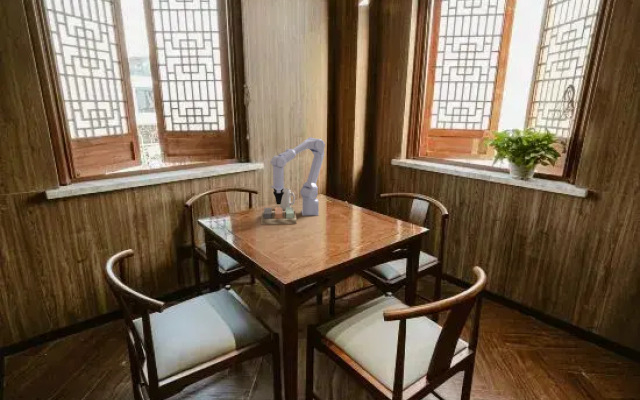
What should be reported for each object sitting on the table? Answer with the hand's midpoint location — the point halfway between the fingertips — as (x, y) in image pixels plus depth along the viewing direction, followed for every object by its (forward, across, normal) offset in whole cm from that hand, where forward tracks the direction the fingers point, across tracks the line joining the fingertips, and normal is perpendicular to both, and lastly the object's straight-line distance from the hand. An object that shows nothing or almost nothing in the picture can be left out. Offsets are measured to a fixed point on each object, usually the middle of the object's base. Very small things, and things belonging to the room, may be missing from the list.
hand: (278, 202), depth 192 cm
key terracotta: (+9, 0, 0) cm, 9 cm away
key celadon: (+9, 0, +6) cm, 10 cm away
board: (+10, 0, 0) cm, 10 cm away
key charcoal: (+9, 0, -6) cm, 10 cm away
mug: (+10, -20, +6) cm, 23 cm away
